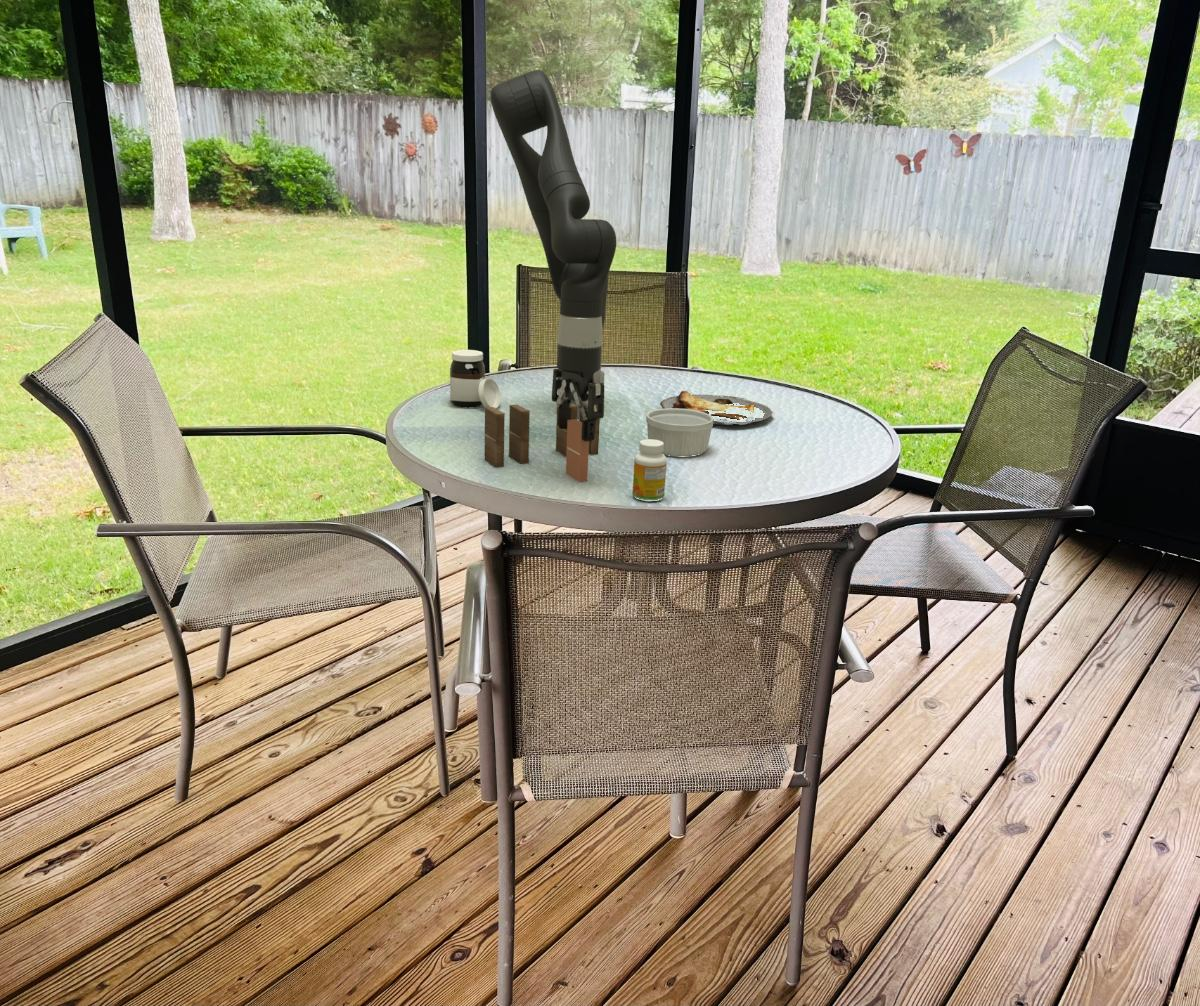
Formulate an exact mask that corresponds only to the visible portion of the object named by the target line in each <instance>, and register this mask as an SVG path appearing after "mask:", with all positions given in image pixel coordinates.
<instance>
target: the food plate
mask: <svg viewBox="0 0 1200 1006" xmlns="http://www.w3.org/2000/svg"><path fill="white" fill-rule="evenodd" d="M733 403H739V404H740V405H745V406H734V404H733ZM659 404H660V406H661V409H667V408H679V409H690V410H696V411H700V412H704V413H707V414H709V412H708V411H705V410H712V411H724V412H726V410H725V409H728V408H729V407H738V408H747V409H745V410H748V411H749V412H750V411H751V412H752V413H754V407H756V408H759V409H760V410H762V411H763V413H765V414H764V416H763V418H755V420H752V419H751V420H752V421H751V420H747V421H746V422H732V421H713V424H714V425H713V426H716V425H715V424H718V425H719V424H722V425H723V426H734V425H733V424H739V425H741V426H743V425H747V424H751V423H755V422H763V420H767V419H769V418H770V417H771V416H772V415H773V414H774V411H772V409H771V407H768V405H764V404H762V403H760V402H756V401H752V400H749V399H747V398H744V397H737V396H733V395H719V394H718V395H714V394H713V395H712V394H700V393H699V394H697V393H696V394H691V392H689V391H687V390H682V391H680V393H679V394H678V395H676V396H670V397H668V398H665V399H663V400H661V401H660V403H659ZM726 404H728V405H726ZM729 404H733V405H729ZM736 405H737V404H736ZM729 410H730V409H729ZM751 412H750V414H751ZM711 416H719V417H726V418H730V419H737V420H740V419H739V417H742V418H743V419H744V418H747V417H746V416H743V415H739V414H726V413H715V414H711ZM735 416H736V417H735ZM747 419H748V418H747ZM750 421H751V422H750Z"/></svg>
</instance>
